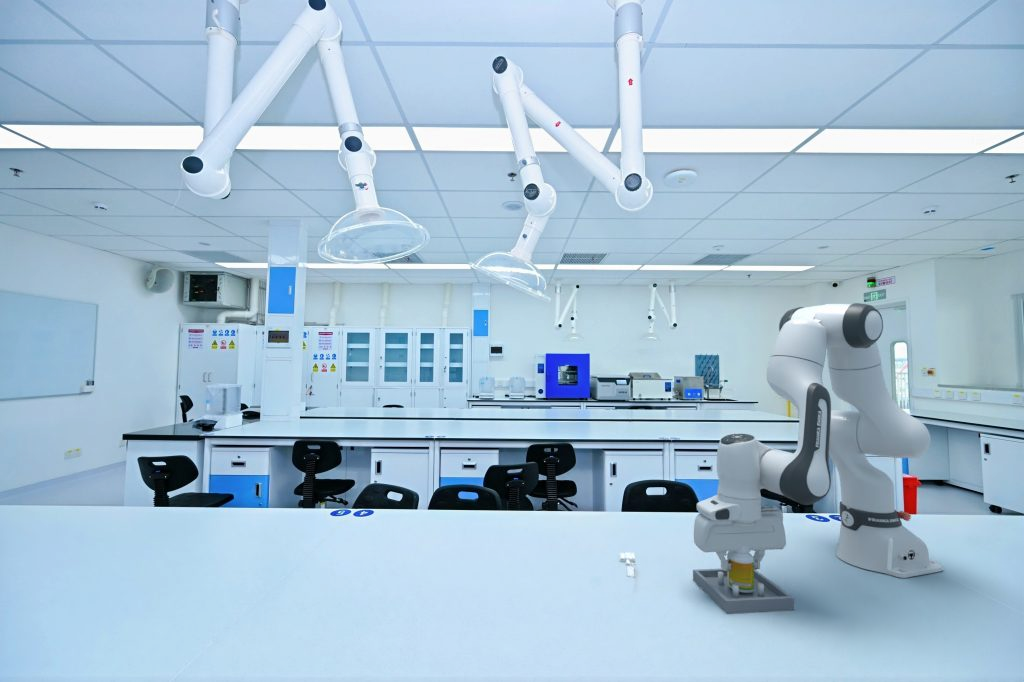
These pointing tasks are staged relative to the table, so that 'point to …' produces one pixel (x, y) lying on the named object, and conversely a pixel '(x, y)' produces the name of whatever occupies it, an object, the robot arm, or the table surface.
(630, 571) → the syringe
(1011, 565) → the table surface
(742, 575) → the supplement bottle
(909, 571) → the robot arm
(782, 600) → the pin tray
